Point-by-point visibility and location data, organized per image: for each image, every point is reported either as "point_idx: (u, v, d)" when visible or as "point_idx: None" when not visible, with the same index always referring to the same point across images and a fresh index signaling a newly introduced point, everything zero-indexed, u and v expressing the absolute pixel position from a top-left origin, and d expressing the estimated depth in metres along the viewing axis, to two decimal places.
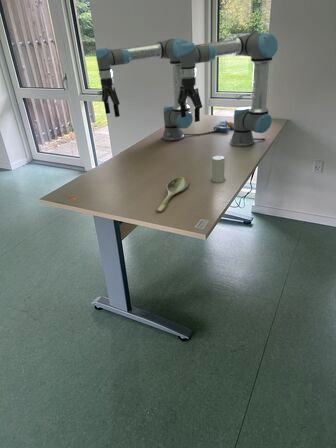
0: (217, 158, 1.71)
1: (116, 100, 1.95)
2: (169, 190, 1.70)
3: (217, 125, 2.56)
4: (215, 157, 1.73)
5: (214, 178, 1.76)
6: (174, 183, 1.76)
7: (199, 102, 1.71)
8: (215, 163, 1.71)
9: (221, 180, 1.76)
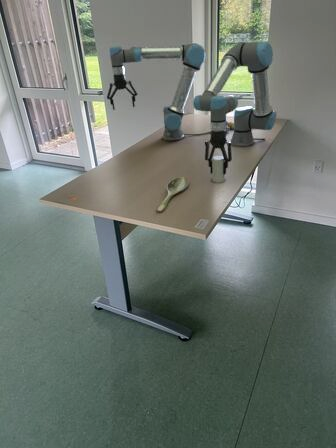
0: (217, 158, 1.71)
1: (135, 91, 2.21)
2: (169, 190, 1.70)
3: None
4: (215, 157, 1.73)
5: (214, 178, 1.76)
6: (174, 183, 1.76)
7: (231, 155, 1.69)
8: (215, 163, 1.71)
9: (221, 180, 1.76)
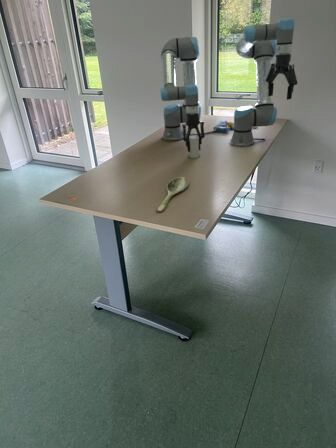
0: (191, 137, 2.05)
1: None
2: (169, 190, 1.70)
3: (217, 125, 2.56)
4: (192, 136, 2.07)
5: (189, 153, 2.11)
6: (174, 183, 1.76)
7: (294, 78, 1.69)
8: None
9: (193, 156, 2.09)
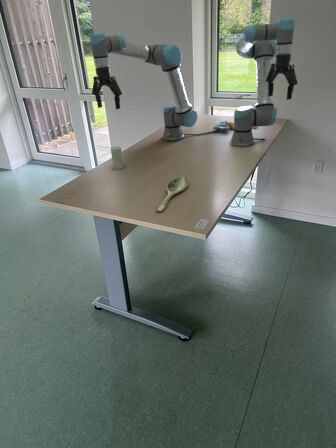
0: (113, 147, 2.00)
1: (118, 90, 1.78)
2: (169, 190, 1.70)
3: (217, 125, 2.56)
4: (117, 146, 2.00)
5: None
6: (174, 183, 1.76)
7: (294, 78, 1.69)
8: None
9: None
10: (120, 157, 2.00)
